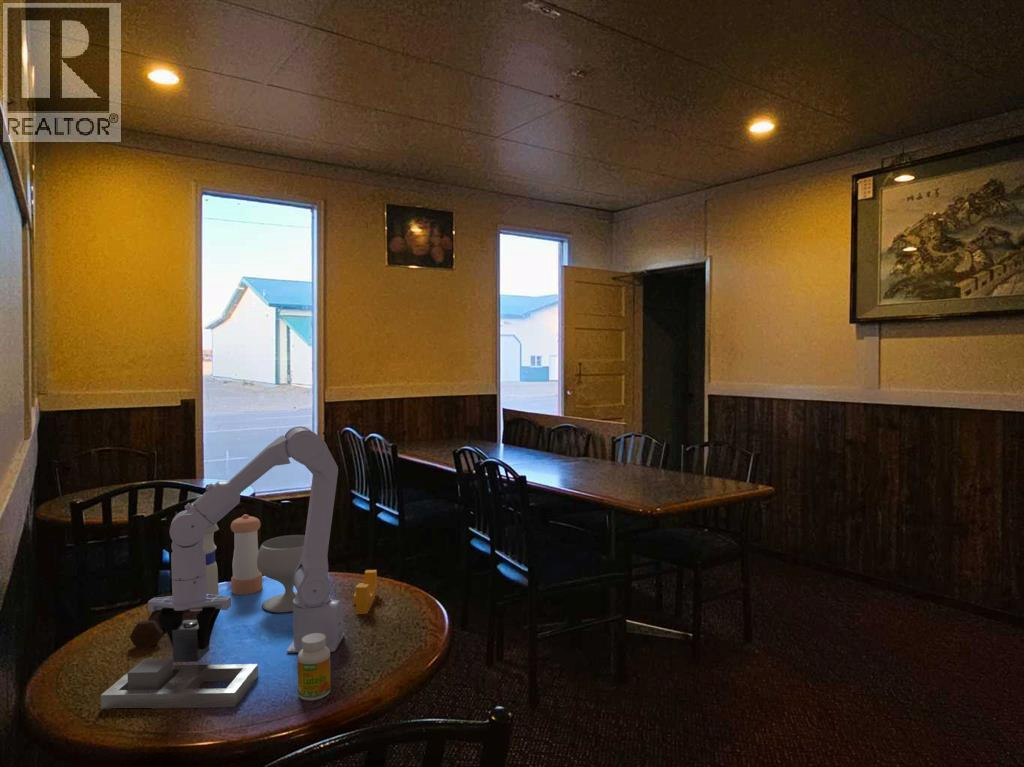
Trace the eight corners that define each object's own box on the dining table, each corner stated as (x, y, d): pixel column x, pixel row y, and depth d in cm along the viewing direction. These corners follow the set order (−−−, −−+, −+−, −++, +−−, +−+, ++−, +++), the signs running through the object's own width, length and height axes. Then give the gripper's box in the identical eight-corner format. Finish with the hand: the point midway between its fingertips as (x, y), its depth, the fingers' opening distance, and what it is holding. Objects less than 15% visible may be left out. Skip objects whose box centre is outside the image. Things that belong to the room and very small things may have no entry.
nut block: (209, 650, 120) (208, 618, 120) (197, 661, 116) (196, 628, 115) (185, 650, 120) (184, 618, 120) (173, 662, 115) (172, 628, 115)
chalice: (279, 591, 157) (278, 532, 157) (330, 595, 154) (329, 534, 154) (245, 613, 143) (243, 548, 143) (300, 617, 141) (299, 551, 140)
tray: (258, 676, 114) (257, 663, 114) (234, 706, 104) (234, 692, 104) (136, 679, 114) (135, 666, 114) (100, 709, 104) (100, 695, 104)
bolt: (171, 626, 141) (149, 654, 126) (150, 617, 140) (124, 644, 126) (185, 603, 142) (164, 627, 127) (164, 593, 141) (140, 617, 126)
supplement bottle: (299, 704, 105) (298, 647, 104) (296, 689, 110) (295, 634, 109) (332, 697, 107) (331, 641, 107) (328, 682, 112) (327, 629, 112)
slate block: (173, 686, 111) (172, 658, 111) (158, 701, 106) (157, 672, 106) (144, 686, 111) (144, 658, 111) (128, 701, 106) (127, 672, 106)
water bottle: (173, 607, 147) (170, 501, 147) (208, 596, 154) (206, 495, 154) (191, 615, 143) (189, 506, 142) (227, 603, 150) (224, 499, 149)
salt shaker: (261, 593, 156) (259, 516, 156) (229, 596, 154) (227, 519, 153) (263, 583, 163) (262, 510, 163) (233, 586, 161) (231, 512, 160)
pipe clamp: (359, 596, 154) (358, 570, 154) (377, 595, 154) (376, 569, 154) (348, 615, 142) (347, 587, 142) (367, 615, 142) (367, 587, 142)
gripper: (137, 583, 113) (140, 657, 114) (218, 582, 113) (220, 656, 114) (158, 570, 120) (161, 640, 121) (235, 569, 120) (237, 639, 121)
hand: (191, 647), depth 118 cm, fingers closed on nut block, 4 cm apart
